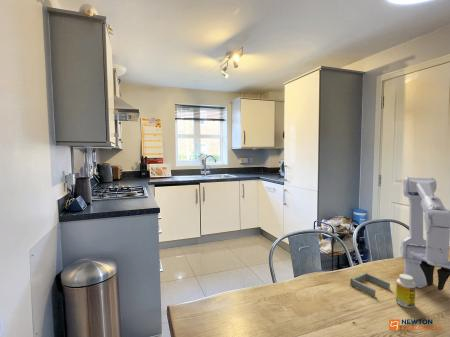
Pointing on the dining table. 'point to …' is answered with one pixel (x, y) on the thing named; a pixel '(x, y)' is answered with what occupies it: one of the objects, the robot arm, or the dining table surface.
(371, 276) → the cup cradle
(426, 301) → the dining table surface
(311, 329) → the dining table surface
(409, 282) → the supplement bottle
